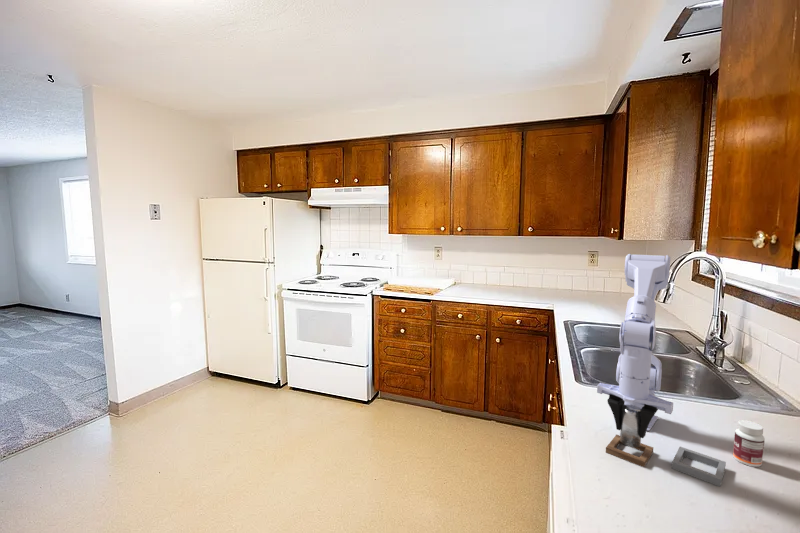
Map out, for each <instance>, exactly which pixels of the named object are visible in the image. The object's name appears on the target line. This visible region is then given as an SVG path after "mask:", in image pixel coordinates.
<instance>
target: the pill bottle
mask: <svg viewBox="0 0 800 533" xmlns="http://www.w3.org/2000/svg"><path fill="white" fill-rule="evenodd" d="M763 434H764V426H762V425H761V424H759V423H757V422H754V421H752V420H751V421H750V420H746V419H740V420H738V421H737V428H736V429H735V431H734V440H733V449H732V456H733V458H734V459H735V461H737V462H739V463H740V464H743V465H746V466H750V467H755V468H758V467H761V466H762V464H763V455H764V450H765V449H764V447H765V436H764V435H763Z"/></svg>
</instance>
